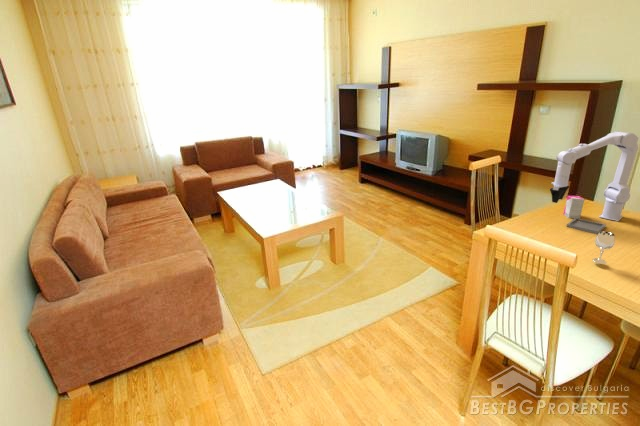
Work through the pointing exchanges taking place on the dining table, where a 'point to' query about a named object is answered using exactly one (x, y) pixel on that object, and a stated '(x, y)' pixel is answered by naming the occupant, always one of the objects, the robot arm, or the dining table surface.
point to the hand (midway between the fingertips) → (557, 200)
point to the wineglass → (604, 244)
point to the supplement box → (573, 206)
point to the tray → (586, 225)
